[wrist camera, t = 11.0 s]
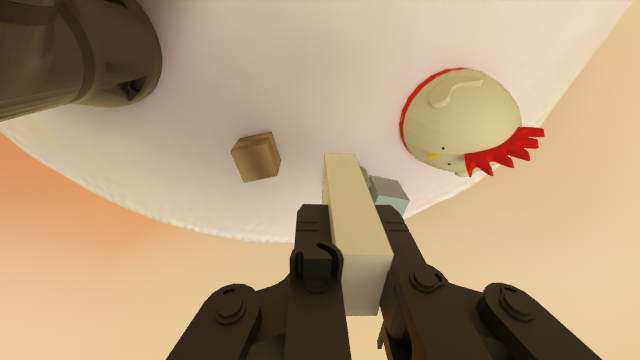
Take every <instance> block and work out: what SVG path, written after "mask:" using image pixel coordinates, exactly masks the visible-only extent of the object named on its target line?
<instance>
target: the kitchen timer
mask: <svg viewBox="0 0 640 360" xmlns="http://www.w3.org/2000/svg"><path fill="white" fill-rule="evenodd" d="M399 125H400V135H401V138H402V140H403V143H404V145H405V147H406V148H407V149H408V150H409V151H410V152H411V153H412V154H413V155H414V156H415V157H416V158H417V159H418V160H420V161H422V162H424V163H426V164H428V165H430V166H432V167H435V168H438V169H441V170H445V171H451V172H455V174H456V175H457V176H461V177H467V176H469V177H471V176H472V175H473V174H474V173H475V171H481V170H482V171H484V172H485V173H487V174H488V175H490V176H493V172H492V168H491V167H492V166H494V165H496V164H498V163H499V164H501V165H504V166H507V167H510V168H514V165H513V161H512V159H511V158H510V157H508V155H510V156H513V157H516V158H519V159H523V160H527V161H530V156H529V152H528V151H527V150H525V149H524V148H533V149H534V148H535V149H537V148H539V147H538V140H537V139H533V138H528V137H544V130H543V129H542V128H534V127H522V122H521V116H520V111H519V107H518V105H517V104H516V102H515V100H514V99H513V97H512V96H511V94H510V93H509V92H508V91H507V90H506V89H505V88H504V87H503V86H502V85H501V84H500V83H499V82H498V81H496V80H495V79H493V78H491V77H490V76H488V75H487V74H485V73H483V72H480V71H475V70H470V69H465V68H455V69H447V70H444V71H441V72H439V73H437V74H434V75H432V76H430V77H429V78H428V79H426V80H425V81H424V82H423V83H421V84H420V85H419V86H418V87H417V88H416V89H415V90H414V92H413V93H412V94H411V95H410V96H409V98H408V100H407V102H406V104H405V106H404V108H403V110H402V114H401V119H400V124H399Z"/></svg>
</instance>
